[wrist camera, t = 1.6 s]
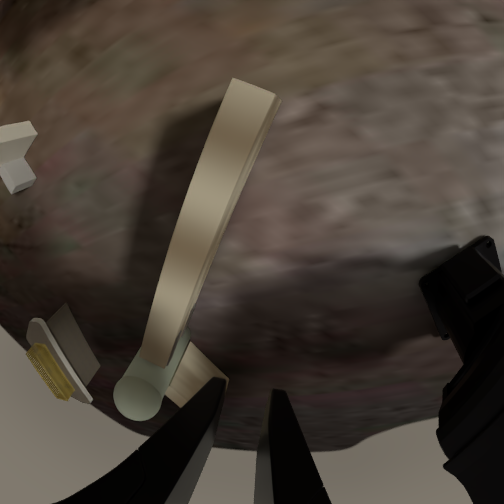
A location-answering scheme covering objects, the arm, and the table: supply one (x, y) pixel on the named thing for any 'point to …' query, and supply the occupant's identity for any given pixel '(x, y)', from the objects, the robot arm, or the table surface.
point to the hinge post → (146, 384)
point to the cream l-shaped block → (16, 155)
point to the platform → (62, 355)
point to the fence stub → (191, 375)
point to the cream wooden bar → (207, 213)
